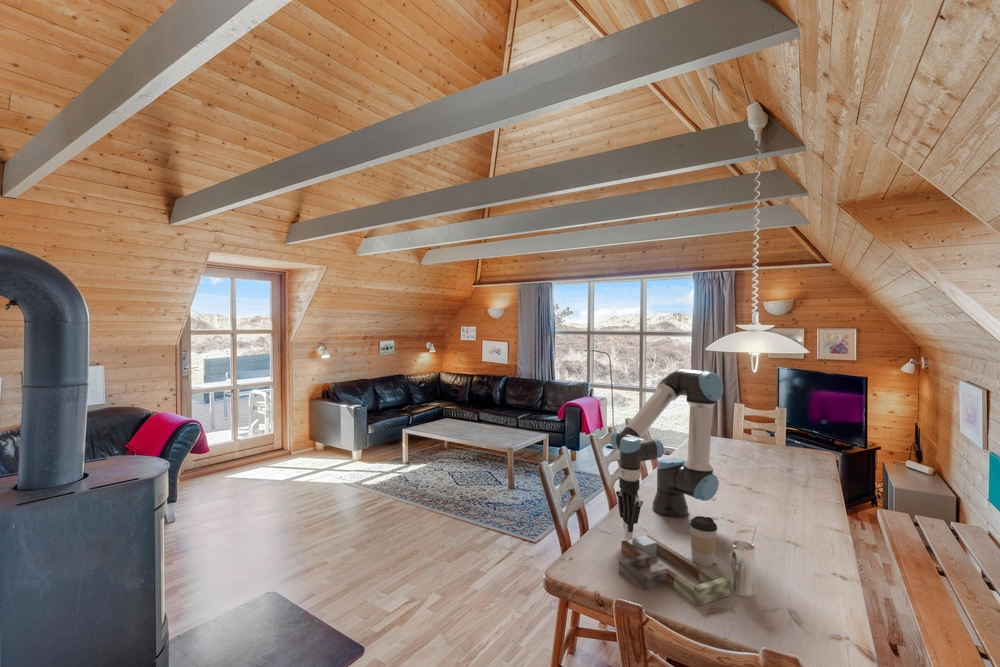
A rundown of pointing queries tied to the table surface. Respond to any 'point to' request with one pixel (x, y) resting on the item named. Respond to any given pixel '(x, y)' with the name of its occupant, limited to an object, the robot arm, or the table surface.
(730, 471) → the table surface
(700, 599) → the corridor
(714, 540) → the coffee cup
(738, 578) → the beer glass
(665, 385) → the robot arm
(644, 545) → the block
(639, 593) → the table surface
